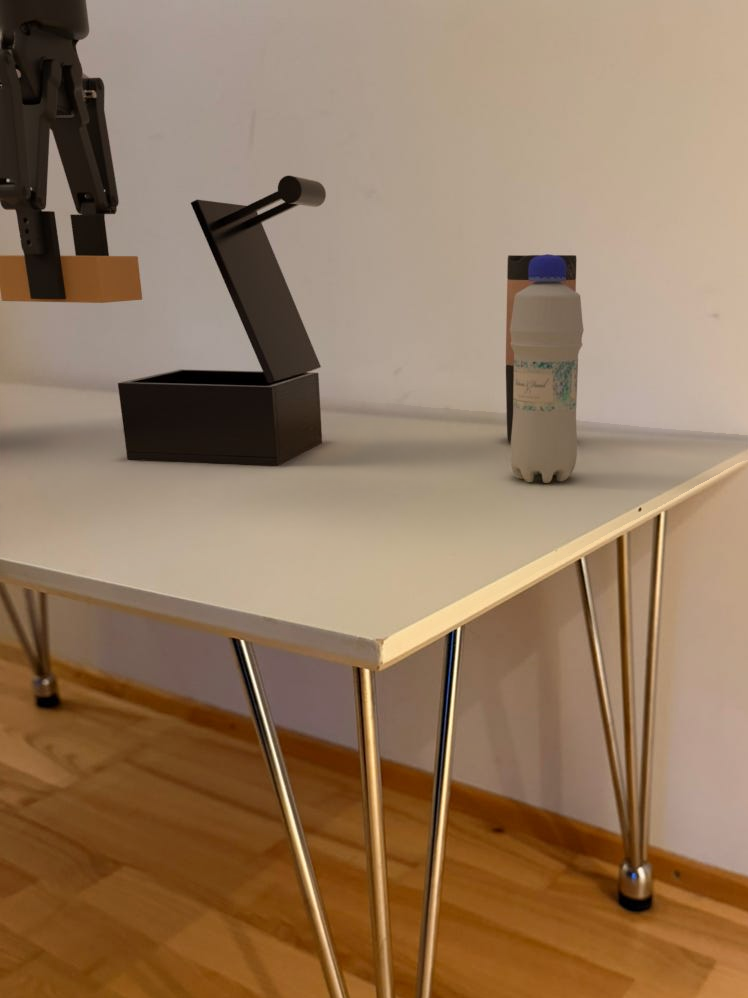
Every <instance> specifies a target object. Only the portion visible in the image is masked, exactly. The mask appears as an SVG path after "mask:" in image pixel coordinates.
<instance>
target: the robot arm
mask: <svg viewBox="0 0 748 998" xmlns="http://www.w3.org/2000/svg"><path fill="white" fill-rule="evenodd" d="M88 14H89V13H88V7H87V0H0V206H1V208H2V209H3V210H6V211H15V214H16V219H17V227H18V232H19V239H20V246H21V250H22V252H23V255H24V257H25V264H26V270H27V277H28V284H29V290H30V297H31V299H66V295H65V287H64V280H63V273H62V265H61V258H60V255H61V249H60V242H59V235H58V228H57V221H56V214H55V213H56V212H55V211H52V210H45V209H46V207H47V195H48V177H49V176H48V175H49V154H50V153H49V152H50V136H51V135H50V134H51V133H52V135H53V139H54V142H55V145H56V148H57V152H58V156H59V158H60V162H61V165H62V167H63V171H64V175H65V178H66V181H67V185H68V187H69V190H70V194H71V198H72V200H73V204H74V207H75V211H76V212H77V214H69V217H70V224H71V230H72V231H71V232H72V239H73V246H74V252H75V253H74V255H75V256H110V252H109V244H108V235H107V227H106V219H105V218H106V217H105V215H116V213H117V211H118V208H117V207H118V206H119V203H120V202H119V195H118V187H117V181H116V176H115V169H114V161H113V156H112V150H111V144H110V143H111V142H110V138H109V137H110V136H109V130H108V125H107V124H108V123H107V118H106V111H105V84H104V81H103V79H102V78H101V77H89V76H88V75H87V74H85V73H84V72H83V66H82V64H81V60H80V58H79V53H78V50H77V44H78V43H79V41H83V40H85V39H86V38H87V37H88V36H89V34H90V23H89V15H88ZM50 132H51V133H50ZM7 180H8V181H7Z"/></svg>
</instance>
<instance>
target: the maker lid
mask: <svg viewBox="0 0 748 998" xmlns="http://www.w3.org/2000/svg"><path fill="white" fill-rule="evenodd" d="M326 193H327V192H326V189H325V186H324V185H323V184H322V183H321V182H319V181H318V180H312V179H309V178H304V177H299V176H294V175H284V176H283V177H282V178H280V180H279V182H278V184H277V191H274V192H273V193H270V194H268V195H266V196H264V197H263V198H260V199H258V200H256V201H254V202H251V203H250V204H248V205H245V204H236V203H229V202H220V201H213V200H205V199H195V200H193V201H191V202H190V205H191V207H192V210H193V212H194V214H195V217H196V219H197V222H198V224H199V226H200V228H201V231H202V233H203V236H204V238H205V240H206V243H207V245H208V247H209V249H210V252H211V254H212V256H213V259H214V261H215V263H216V266H217V268H218V270H219V274H220V275H221V277H222V279H223V282H224V284H225V287H226V290H227V291H228V294H229V296H230V298H231V301H232V303H233V305H234V308H235V310H236V312H237V314H238V316H239V319H240V322H241V323H242V326H243V328H244V331H245V334H246V335H247V338H248V340H249V342H250V344H251V347H252V349H253V351H254V354H255V356H256V359H257V361H258V363H259V366H260V368H261V371H263V373H264V375H265V377H266V380H267V382H268V383H272V382H275V381H279V380H282V379H285V378H289V377H292V376H296V375H299V374H302V373H306V372H313V371H315V370H318V369H320V368H322V366H321V363H320V361H319V359H318V356H317V354H316V351H315V349H314V346H313V344H312V342H311V338H310V337H309V334H308V332H307V329H306V327H305V325H304V323H303V320H302V318H301V315H300V313H299V310H298V308H297V305H296V303H295V300H294V297H293V295H292V294H291V293H292V292H291V290H290V288H289V285H288V283H287V281H286V278H285V276H284V273H283V271H282V268H281V266H280V264H279V261H278V259H277V257H276V254H275V252H274V250H273V247H272V244H271V243H270V240H269V237H268V235H267V233H266V230H265V227H264V225H263V223H265V222H267V221H268V220H270V219H273V218H275V217H277V216H279V215H282V214H283V213H285V212H287V211H290V210H292V209H294V208H296V207H298V206H306V207H314V208H317V207H320V206H321V205H323V203H324V202H325V201H326V196H327V194H326ZM280 201H283V202H282V203H280V204H278V205H276V206H273V207H271V208H269V209H267V210H265V211H263V212H261V213H258V211H261V210H263V209H265V208H267V207H269V206H271V205H273V204H275V203H277V202H280Z"/></svg>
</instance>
